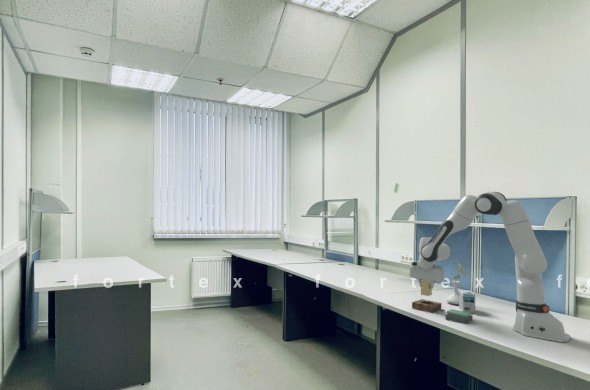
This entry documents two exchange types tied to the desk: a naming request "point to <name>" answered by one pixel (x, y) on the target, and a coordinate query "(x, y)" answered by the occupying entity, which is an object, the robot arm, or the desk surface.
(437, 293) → the desk surface
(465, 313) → the button
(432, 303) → the brown square frame
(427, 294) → the block
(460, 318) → the block
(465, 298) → the light bulb box
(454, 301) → the flower in vase
